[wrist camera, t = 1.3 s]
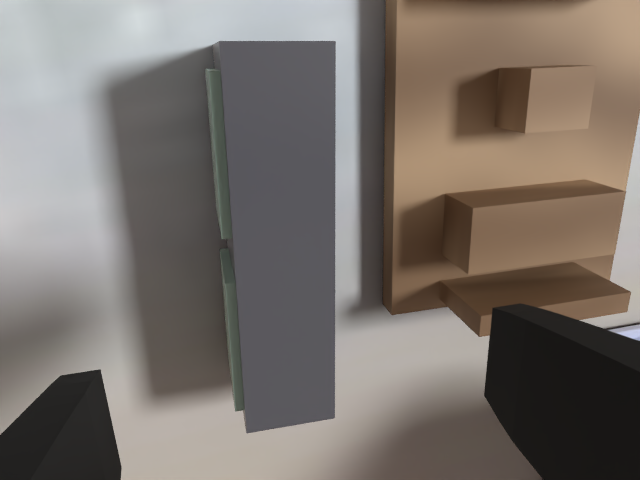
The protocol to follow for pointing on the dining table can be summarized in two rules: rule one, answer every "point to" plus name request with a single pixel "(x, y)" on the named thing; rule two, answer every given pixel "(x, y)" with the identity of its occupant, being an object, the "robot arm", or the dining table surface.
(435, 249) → the stand
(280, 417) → the grey rectangular box
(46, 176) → the dining table surface
